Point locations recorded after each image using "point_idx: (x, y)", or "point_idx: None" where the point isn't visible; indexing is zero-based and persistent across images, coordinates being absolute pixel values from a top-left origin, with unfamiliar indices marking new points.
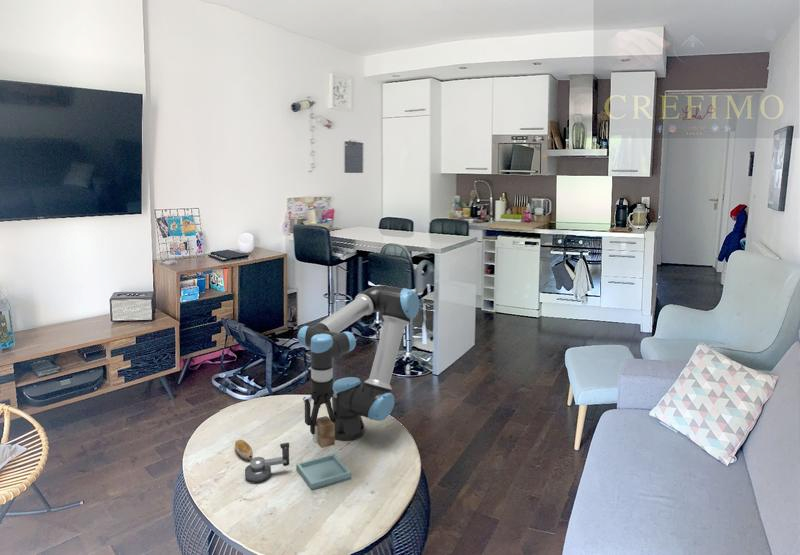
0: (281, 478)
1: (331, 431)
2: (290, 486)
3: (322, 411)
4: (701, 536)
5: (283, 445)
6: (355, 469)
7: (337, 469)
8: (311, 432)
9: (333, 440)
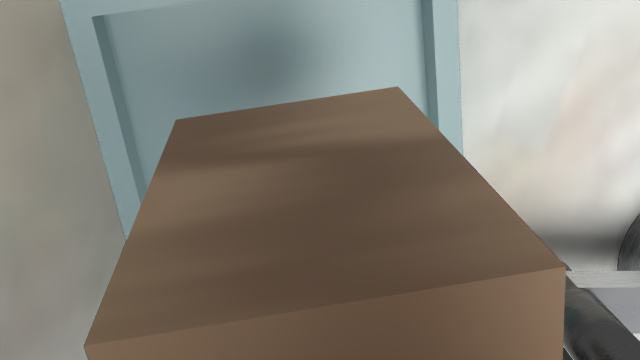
0: (578, 181)
1: (219, 214)
2: (560, 59)
3: None
4: None
5: None
6: (9, 115)
7: (164, 141)
8: (565, 358)
9: (191, 140)
